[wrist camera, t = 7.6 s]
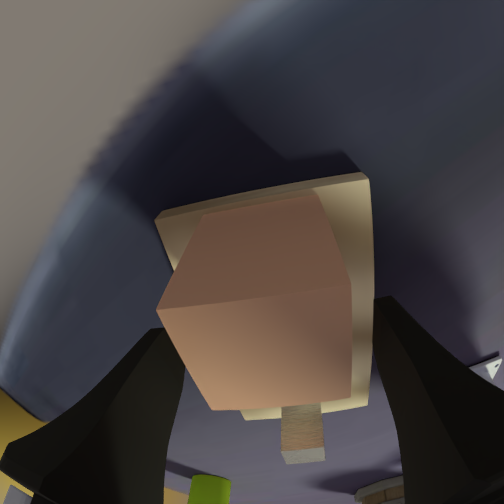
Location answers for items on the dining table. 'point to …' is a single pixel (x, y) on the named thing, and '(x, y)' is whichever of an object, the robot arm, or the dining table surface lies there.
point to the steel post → (302, 433)
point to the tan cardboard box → (263, 307)
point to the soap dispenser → (209, 490)
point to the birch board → (349, 243)
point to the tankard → (382, 492)
